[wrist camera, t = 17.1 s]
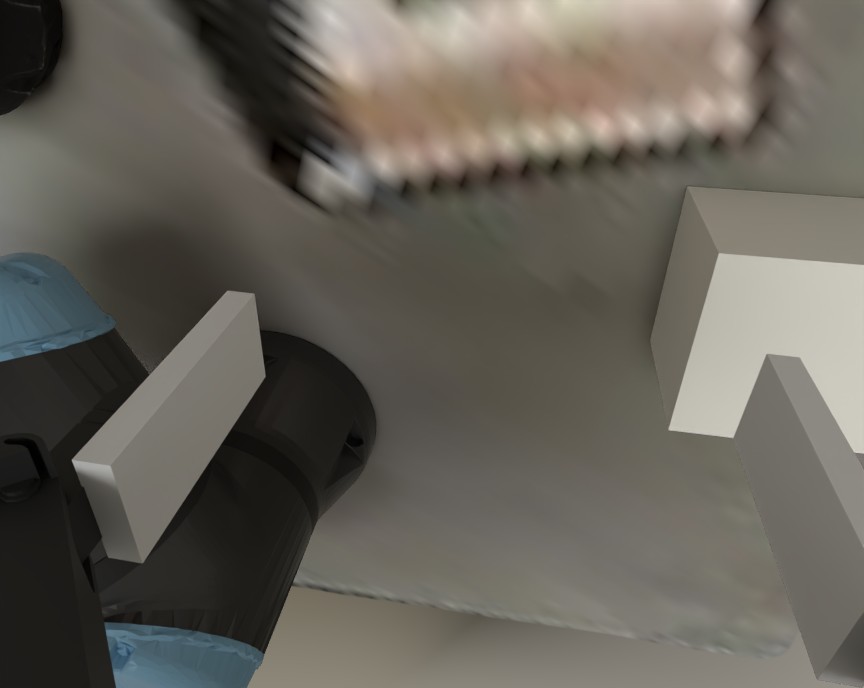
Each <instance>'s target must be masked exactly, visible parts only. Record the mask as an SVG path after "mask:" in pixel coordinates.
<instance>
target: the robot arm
mask: <svg viewBox="0 0 864 688" xmlns="http://www.w3.org/2000/svg"><path fill="white" fill-rule="evenodd" d="M116 325H117V322H116V321H115V319H114V318H113V317H112V316H111V315H109V314H106V313H104V312H103V311H102V310H101V309H100V307H99V306H98V305H97V304H96V303H95V301H94V300H93V299H92V298H91V297H90V295H89V294H88V293H87V292H86V291H85V290H84V288H83V287H82V286H81V285H80V284H79V282H78V281H77V280H76V279H75V278H74V276H73V275H72V274H71V273H70V272H69V271H68V270H67V269H66V268H65V267H64V266H63V265H62V264H61V263H59V262H58V261H56V260H54V259H52V258H50V257H48V256H44V255H41V254H36V253H15V254H9V255H5V256H2V257H0V688H247V686H248V684H249V682H250V680H251V678H252V676H253V674H254V672H255V670H256V669H258V668H259V666H260V665H261V664H262V661H263V657H264V654H265V651H266V649H267V646H268V644H269V641H270V639H271V636H272V633H273V631H274V628H275V626H276V623H277V621H278V618H279V616H280V613H281V611H282V608H283V606H284V603H285V601H286V598H287V596H288V593H289V591H290V588H291V586H292V583H293V580H294V578H295V575H296V573H297V570H298V568H299V565H300V563H301V560H302V558H303V555H304V553H305V550H306V548H307V545H308V543H309V540H310V537H311V535H312V532H313V530H314V528H315V525H316V523H317V521H318V520H319V519H320V518H321V516H322V515H323V514H324V513H325V512H326V511H327V510H328V509H329V508H330V507H331V506H332V505H333V504H334V503H335V502H336V501H337V500H338V499H339V498H340V497H341V496H342V495H343V494H344V493H345V492H346V490H347V489H348V488H349V487H350V486H351V485H352V484H353V483H354V482H355V481H356V480H357V479H358V477H359V476H360V474H361V473H362V471H363V469H364V467H365V465H366V463H367V460H368V458H369V455H370V452H371V450H372V447H373V444H374V440H375V434H376V421H375V415H374V411H373V408H372V405H371V402H370V400H369V398H368V396H367V394H366V392H365V391H364V389H363V387H362V386H361V384H360V383H359V382H358V380H357V379H356V378H355V377H354V375H353V374H352V373H351V372H350V371H349V370H348V369H347V368H346V367H345V366H344V365H343V364H341V363H340V362H339V361H338V360H337V359H335V358H334V357H333V356H331V355H330V354H328V353H327V352H325V351H324V350H322V349H320V348H318V347H317V346H314V345H312V344H310V343H308V342H306V341H304V340H301V339H298V338H295V337H292V336H289V335H285V334H280V333H275V332H266V331H260V330H259V323H258V315H257V308H256V300H255V294H253V293H245V292H236V291H227V292H226V293H225V294H224V295H223V296H222V297H221V298H220V299H219V300H218V301H217V303H216V304H215V305H214V306H213V307H212V308H211V309H210V310H209V311H208V312H207V313H206V315H205V316H204V317H203V318H202V319H201V320H200V321H199V322H198V323H197V324H196V325H195V326H194V328H193V329H192V330H191V331H190V332H189V333H188V334H187V335H186V336H185V337H184V338H183V339H182V341H181V342H180V343H179V344H178V345H177V346H176V347H175V348H174V349H173V350H172V351H171V352H170V354H169V355H168V356H167V357H166V358H165V359H164V360H163V361H162V362H161V363H160V364H159V366H158V367H157V368H156V369H155V370H154V371H153V372H152V373H151V374H149V373H148V372H147V370H146V369H145V368H144V366H143V365H142V364H141V362H140V361H139V360H138V359H137V357H136V356H135V355H134V353H133V352H132V351H131V349H130V348H129V347H128V345H127V344H126V343H125V341H124V340H123V339H122V337H121V336H120V335H119V333H118V332H117V331H116V329H115V328H114V327H115V326H116ZM733 440H734V443H735V445H736V448H737V451H738V454H739V457H740V460H741V463H742V466H743V468H744V471H745V474H746V477H747V480H748V483H749V486H750V489H751V491H752V494H753V497H754V500H755V503H756V506H757V509H758V512H759V515H760V517H761V520H762V523H763V526H764V529H765V532H766V535H767V538H768V540H769V543H770V546H771V549H772V552H773V555H774V558H775V561H776V563H777V566H778V569H779V572H780V575H781V578H782V581H783V584H784V586H785V589H786V592H787V595H788V598H789V601H790V604H791V607H792V609H793V612H794V615H795V618H796V621H797V624H798V627H799V630H800V632H801V635H802V638H803V641H804V644H805V647H806V650H807V653H808V655H809V658H810V661H811V664H812V667H813V670H814V673H815V676H816V678H817V680H820V681H826V682H832V683H838V684H844V685H849V686H855V687H861V688H862V687H863V686H864V469H863V467H862V466H861V464H860V462H859V460H858V459H857V457H856V455H855V453H854V452H853V450H852V448H851V446H850V445H849V443H848V441H847V439H846V438H845V436H844V434H843V432H842V431H841V429H840V427H839V425H838V424H837V422H836V420H835V418H834V417H833V415H832V413H831V411H830V409H829V408H828V406H827V404H826V402H825V401H824V399H823V397H822V395H821V394H820V392H819V390H818V388H817V387H816V385H815V383H814V381H813V380H812V378H811V376H810V374H809V373H808V371H807V369H806V367H805V366H804V364H803V362H802V360H801V359H800V357H792V356H783V355H775V354H766V357H765V359H764V362H763V364H762V367H761V369H760V372H759V374H758V377H757V379H756V382H755V384H754V387H753V389H752V392H751V395H750V397H749V400H748V402H747V405H746V407H745V410H744V412H743V415H742V417H741V420H740V422H739V425H738V427H737V430H736V432H735V435H734V437H733Z"/></svg>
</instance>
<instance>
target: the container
mask: <svg viewBox="0 0 864 688" xmlns="http://www.w3.org/2000/svg"><path fill="white" fill-rule="evenodd" d="M61 23H62V11H61V7H60V4H59V0H0V115H3V114H6V113H9V112H11V111H12V110H14V109H16V108H17V107H19V106H20V105H21V104H22V103H23V102H24V101H25V100H26V99H27V98H28V97H29V96H30V95H31V94H32V93H33V91H34V89H35V88H37V87H38V86H40V85H41V84H42V83H43V82H44V81H45V80H46V79H47V77H48V76H49V75H50V74H51V72H52V71H53V69H54V67H55V65H56V63H57V59H58V54H59V50H60V45H61V40H62V26H61Z"/></svg>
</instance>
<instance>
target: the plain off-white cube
mask: <svg viewBox="0 0 864 688" xmlns="http://www.w3.org/2000/svg"><path fill="white" fill-rule="evenodd" d="M650 344H651V349H652V353H653V358H654V363H655V368H656V373H657V378H658V383H659V387H660V392H661V397H662V402H663V407H664V412H665V416H666V421H667V426H668V430H672V431H680V432H689V433H697V434H705V435H714V436H722V437H730V438H733V437H734V435H735V432H736V430H737V427H738V425H739V422H740V420H741V417H742V415H743V412H744V410H745V407H746V405H747V402H748V400H749V397H750V395H751V392H752V389H753V387H754V384H755V382H756V379H757V377H758V374H759V372H760V369H761V367H762V364H763V362H764V359H765V357H766V354H775V355H783V356H792V357H800V359H801V360H802V362H803V364H804V366H805V367H806V369H807V371H808V373H809V374H810V376H811V378H812V380H813V381H814V383H815V385H816V387H817V388H818V390H819V392H820V394H821V395H822V397H823V399H824V401H825V402H826V404H827V406H828V408H829V409H830V411H831V413H832V415H833V417H834V418H835V420H836V422H837V424H838V425H839V427H840V429H841V431H842V432H843V434H844V436H845V438H846V439H847V441H848V443H849V445H850V446H851V448H852V450H853V452H855V453H864V198H851V197H837V196H822V195H808V194H793V193H779V192H764V191H749V190H735V189H720V188H706V187H691V186H687V189H686V193H685V197H684V201H683V205H682V209H681V214H680V218H679V222H678V226H677V230H676V234H675V239H674V243H673V247H672V251H671V255H670V259H669V263H668V268H667V272H666V276H665V280H664V284H663V288H662V292H661V297H660V301H659V305H658V309H657V313H656V317H655V322H654V326H653V330H652V334H651V338H650Z"/></svg>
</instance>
